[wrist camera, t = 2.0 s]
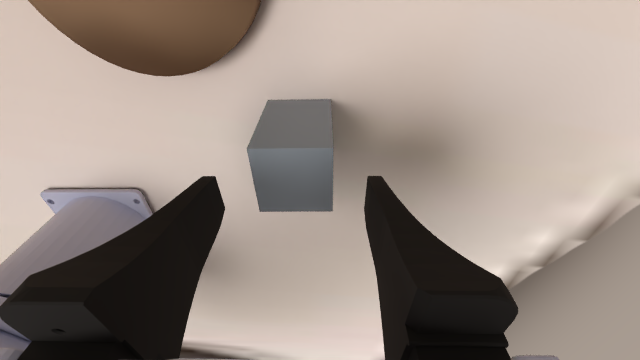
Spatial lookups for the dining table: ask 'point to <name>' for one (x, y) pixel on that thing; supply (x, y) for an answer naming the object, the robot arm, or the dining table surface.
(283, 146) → the block
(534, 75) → the dining table surface
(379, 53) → the dining table surface
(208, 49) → the disc
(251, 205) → the dining table surface
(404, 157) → the dining table surface
